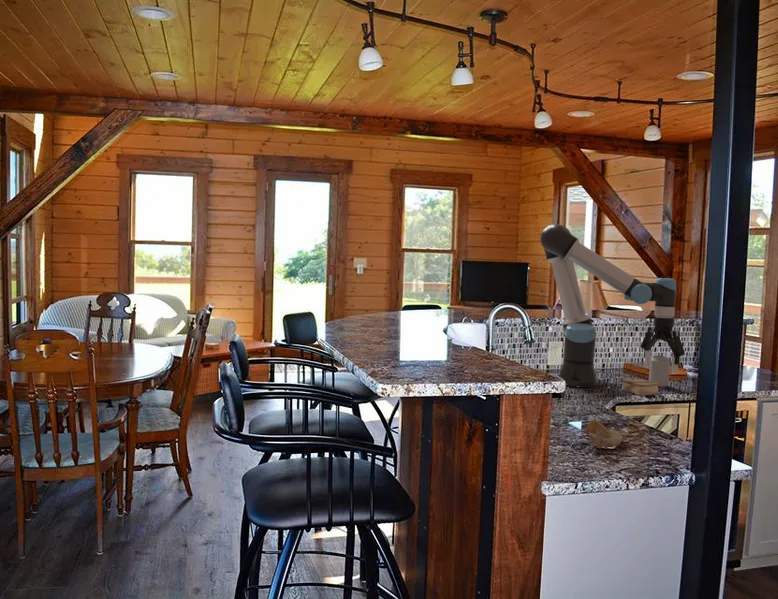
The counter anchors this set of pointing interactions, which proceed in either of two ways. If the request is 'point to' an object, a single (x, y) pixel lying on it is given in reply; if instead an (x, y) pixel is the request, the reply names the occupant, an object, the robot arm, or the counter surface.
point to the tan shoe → (603, 435)
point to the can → (659, 370)
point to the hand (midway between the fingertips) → (660, 369)
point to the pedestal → (640, 387)
